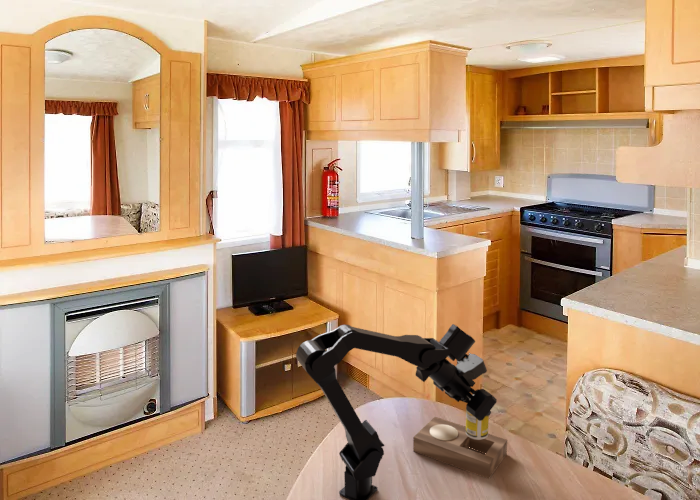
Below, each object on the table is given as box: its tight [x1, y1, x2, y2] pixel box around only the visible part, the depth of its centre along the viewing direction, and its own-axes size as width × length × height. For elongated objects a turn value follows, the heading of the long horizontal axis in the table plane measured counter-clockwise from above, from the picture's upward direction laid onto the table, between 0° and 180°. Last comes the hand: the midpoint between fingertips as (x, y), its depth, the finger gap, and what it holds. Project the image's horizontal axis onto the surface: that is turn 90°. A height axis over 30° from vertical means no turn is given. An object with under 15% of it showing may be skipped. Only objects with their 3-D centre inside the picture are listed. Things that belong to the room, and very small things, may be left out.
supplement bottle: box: [465, 394, 490, 440], centre depth 130 cm, size 5×5×10 cm
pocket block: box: [412, 416, 508, 480], centre depth 134 cm, size 12×20×4 cm, turn 54°
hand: (482, 408), depth 130 cm, fingers closed on supplement bottle, 5 cm apart
